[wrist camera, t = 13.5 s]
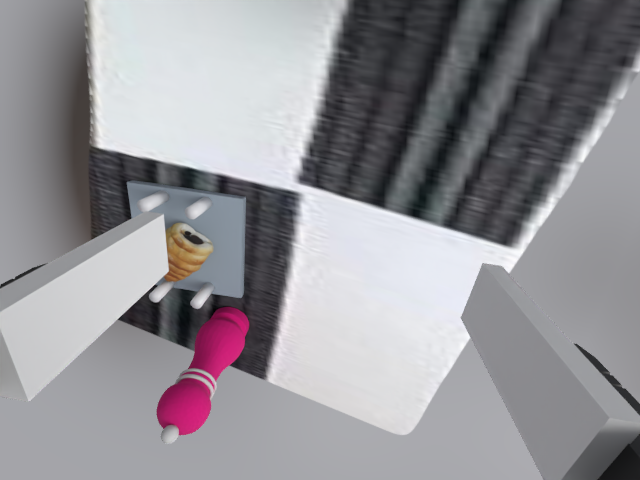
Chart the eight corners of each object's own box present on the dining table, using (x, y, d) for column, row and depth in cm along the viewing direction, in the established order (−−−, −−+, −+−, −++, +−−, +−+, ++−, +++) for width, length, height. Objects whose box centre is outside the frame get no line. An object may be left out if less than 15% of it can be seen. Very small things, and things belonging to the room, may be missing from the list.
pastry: (188, 285, 48) (175, 299, 44) (150, 259, 46) (133, 271, 43) (219, 243, 44) (208, 255, 41) (178, 214, 43) (163, 223, 39)
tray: (132, 180, 43) (102, 190, 37) (245, 196, 42) (231, 209, 37) (145, 278, 49) (121, 299, 44) (243, 293, 49) (230, 316, 44)
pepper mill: (248, 303, 49) (188, 420, 31) (255, 338, 52) (205, 464, 34) (205, 304, 50) (123, 418, 32) (215, 338, 53) (145, 461, 35)
